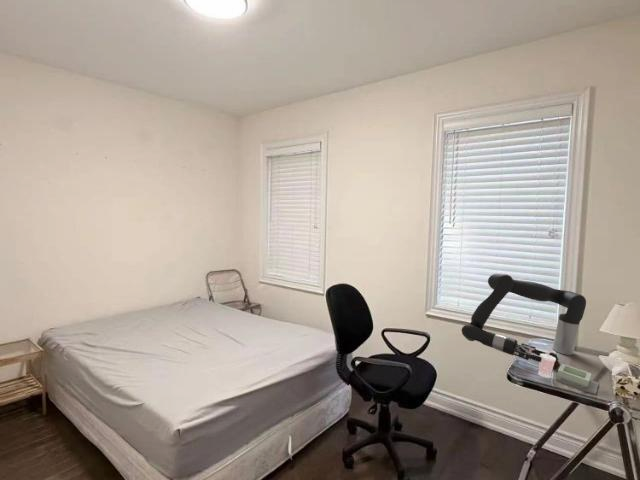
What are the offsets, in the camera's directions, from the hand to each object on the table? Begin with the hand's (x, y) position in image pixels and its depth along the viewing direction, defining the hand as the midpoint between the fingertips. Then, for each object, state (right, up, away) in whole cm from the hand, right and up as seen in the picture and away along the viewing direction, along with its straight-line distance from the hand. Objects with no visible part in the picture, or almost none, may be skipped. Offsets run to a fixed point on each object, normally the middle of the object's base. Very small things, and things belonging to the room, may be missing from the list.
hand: (543, 357), depth 155 cm
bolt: (+14, -8, +14) cm, 21 cm away
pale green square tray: (+13, -10, -4) cm, 16 cm away
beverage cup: (0, -8, 0) cm, 8 cm away
